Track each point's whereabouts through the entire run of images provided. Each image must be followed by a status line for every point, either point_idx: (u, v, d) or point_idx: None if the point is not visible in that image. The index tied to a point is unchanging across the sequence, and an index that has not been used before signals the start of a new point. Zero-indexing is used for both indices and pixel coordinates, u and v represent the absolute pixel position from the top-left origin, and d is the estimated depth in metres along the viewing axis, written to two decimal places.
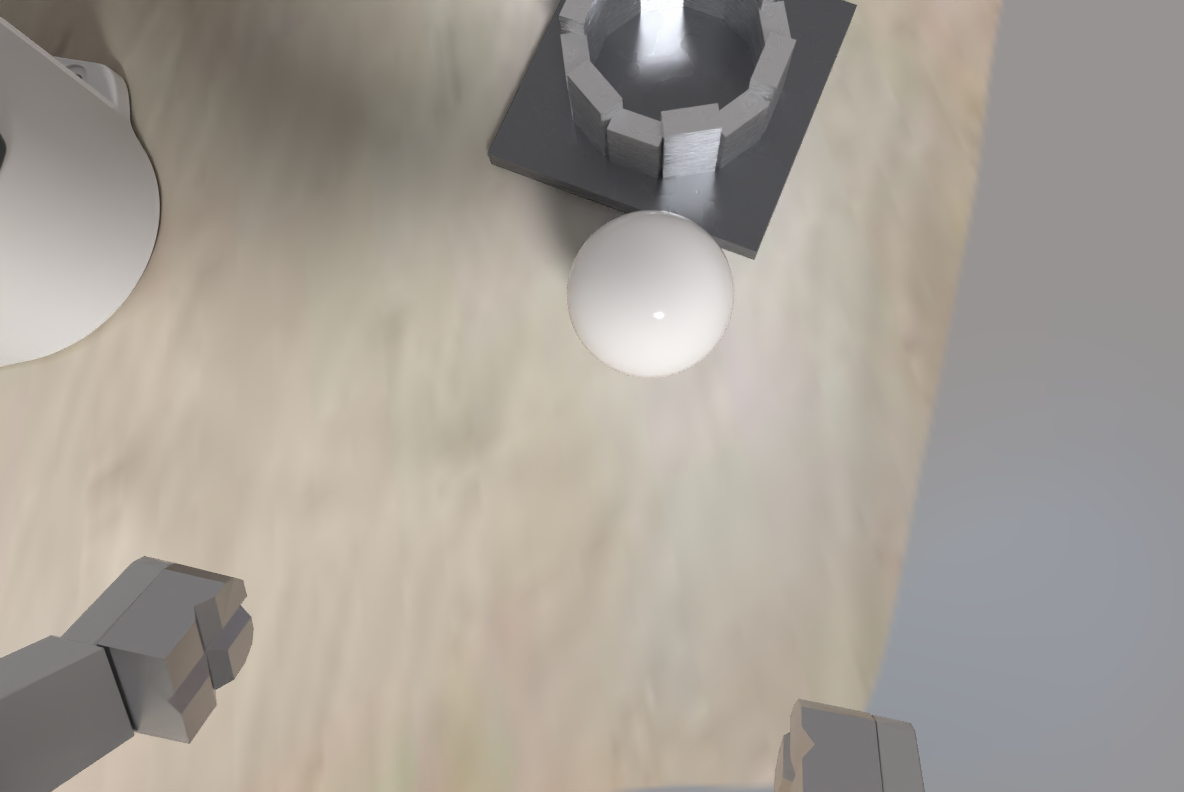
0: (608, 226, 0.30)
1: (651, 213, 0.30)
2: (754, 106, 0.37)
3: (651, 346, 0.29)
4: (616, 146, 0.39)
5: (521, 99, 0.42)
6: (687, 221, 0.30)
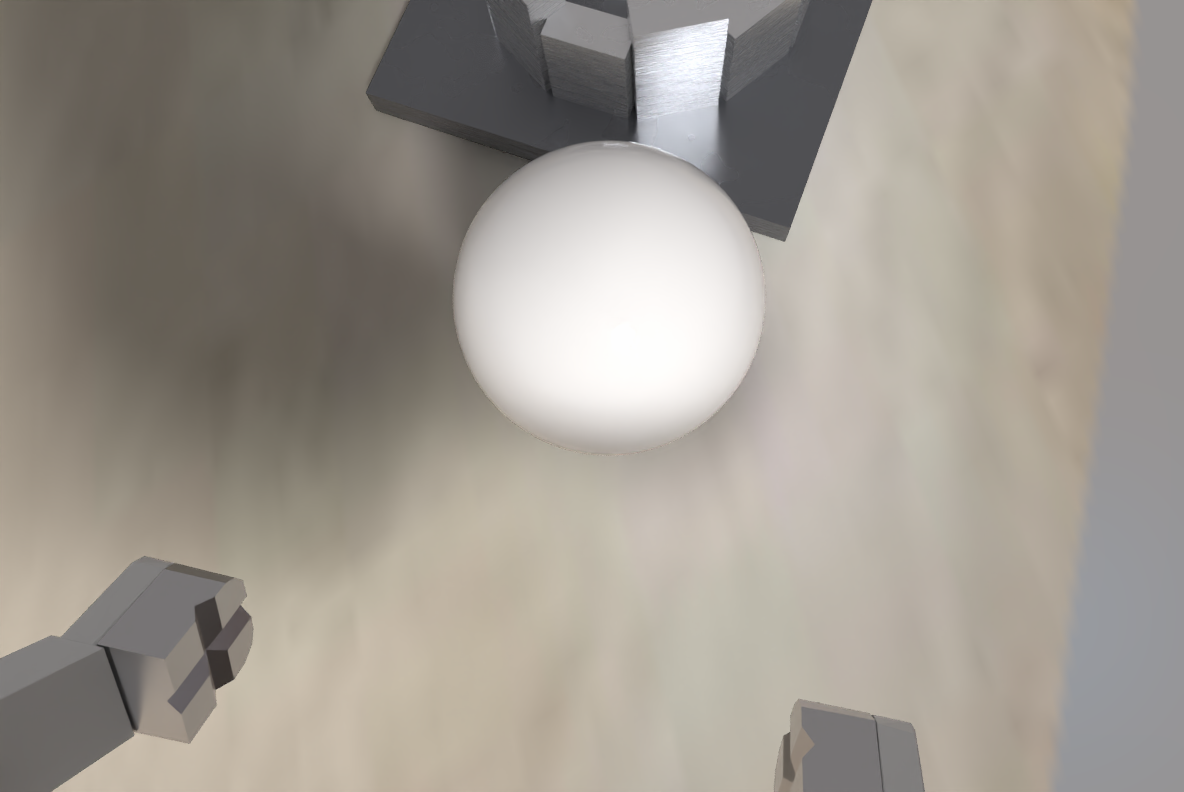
0: (520, 171, 0.16)
1: (602, 143, 0.16)
2: None
3: (607, 402, 0.15)
4: (559, 67, 0.24)
5: (417, 9, 0.27)
6: (672, 156, 0.16)
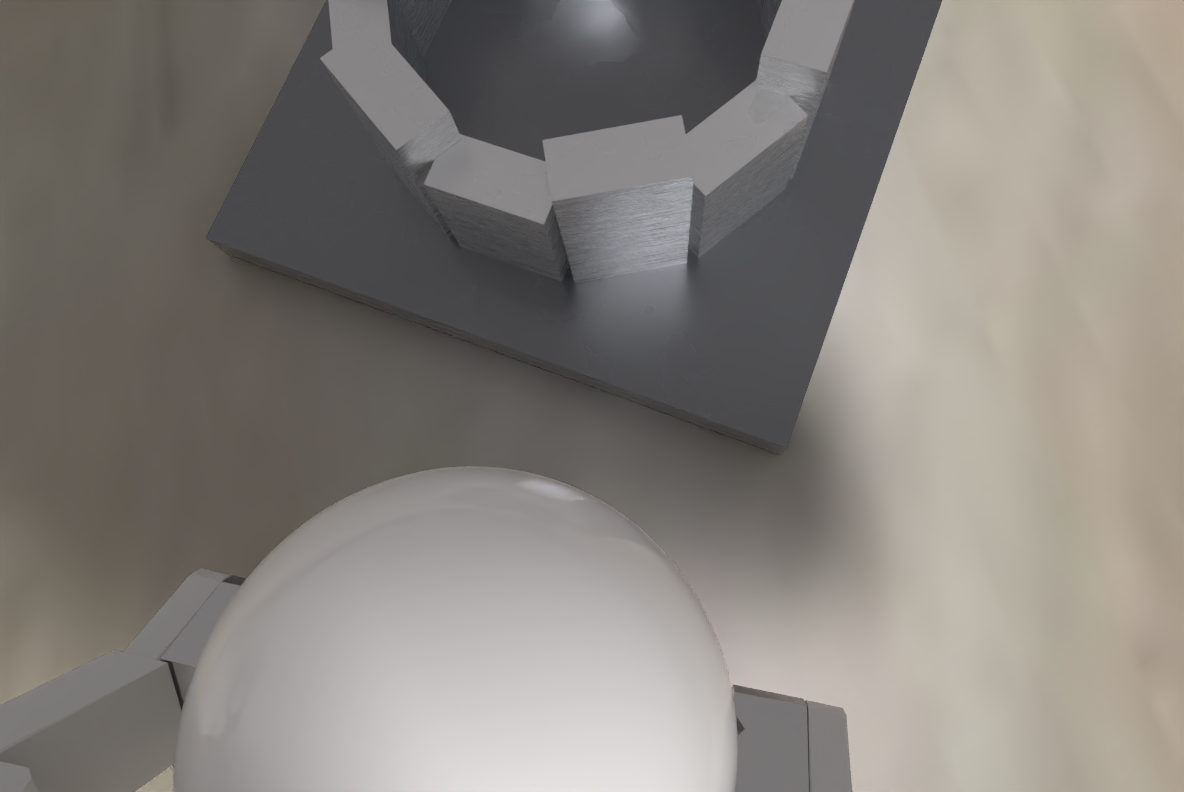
0: (283, 563, 0.09)
1: (433, 515, 0.09)
2: (772, 120, 0.16)
3: None
4: (459, 220, 0.17)
5: (281, 120, 0.20)
6: (563, 539, 0.09)
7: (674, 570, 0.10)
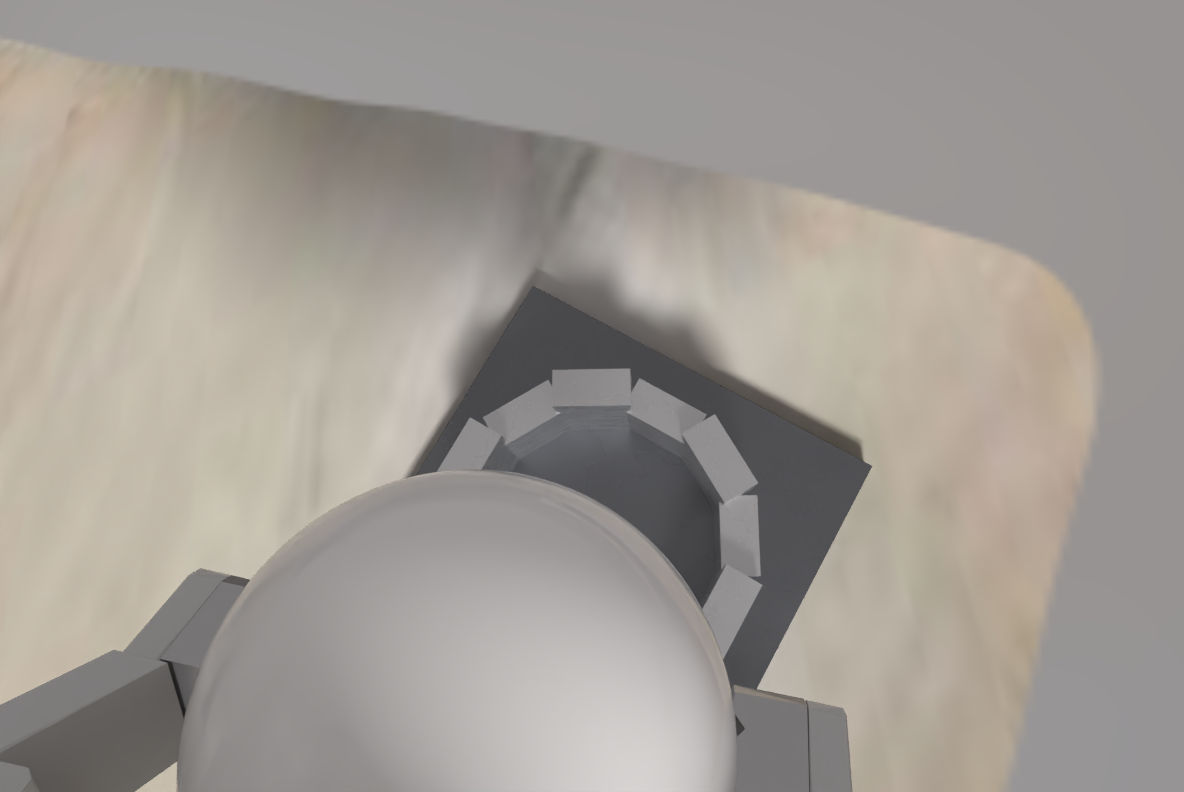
0: (285, 566, 0.09)
1: (432, 519, 0.09)
2: None
3: None
4: None
5: None
6: (561, 542, 0.09)
7: (673, 572, 0.10)
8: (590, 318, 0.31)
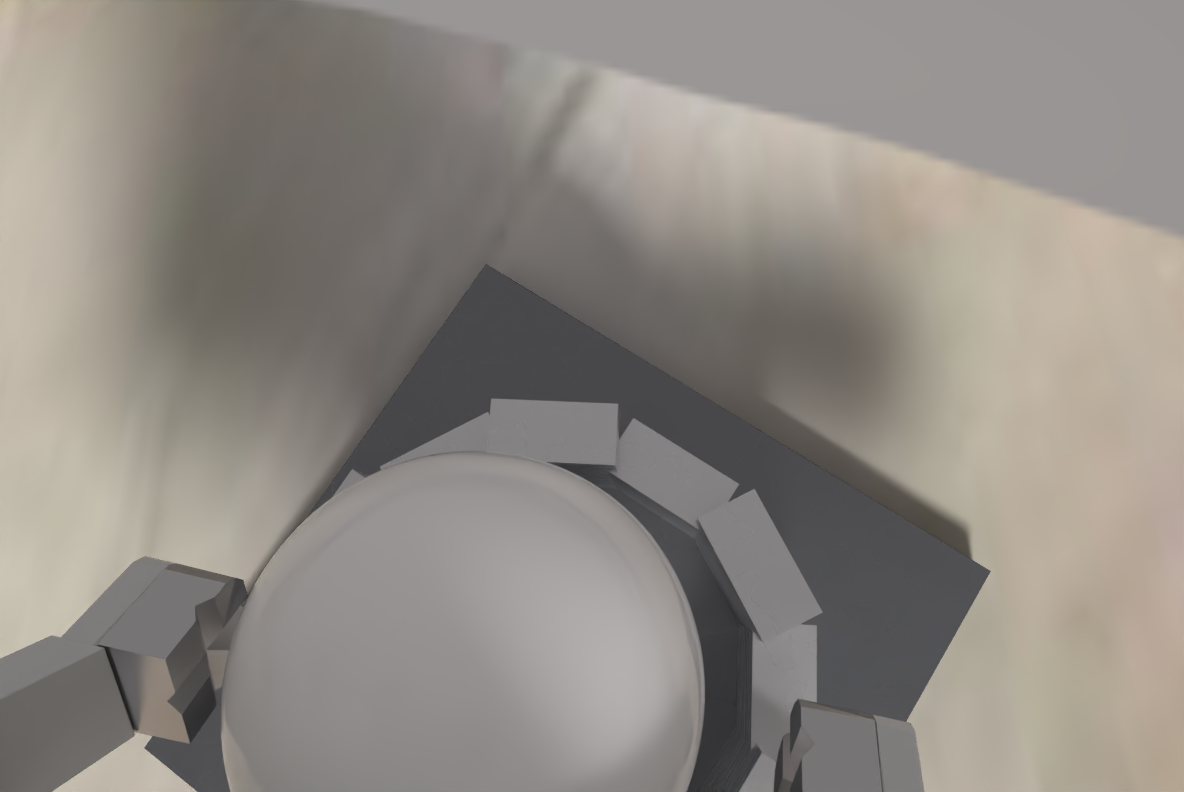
0: (314, 527, 0.10)
1: (440, 486, 0.10)
2: None
3: None
4: None
5: None
6: (549, 505, 0.10)
7: (648, 537, 0.11)
8: (568, 317, 0.21)
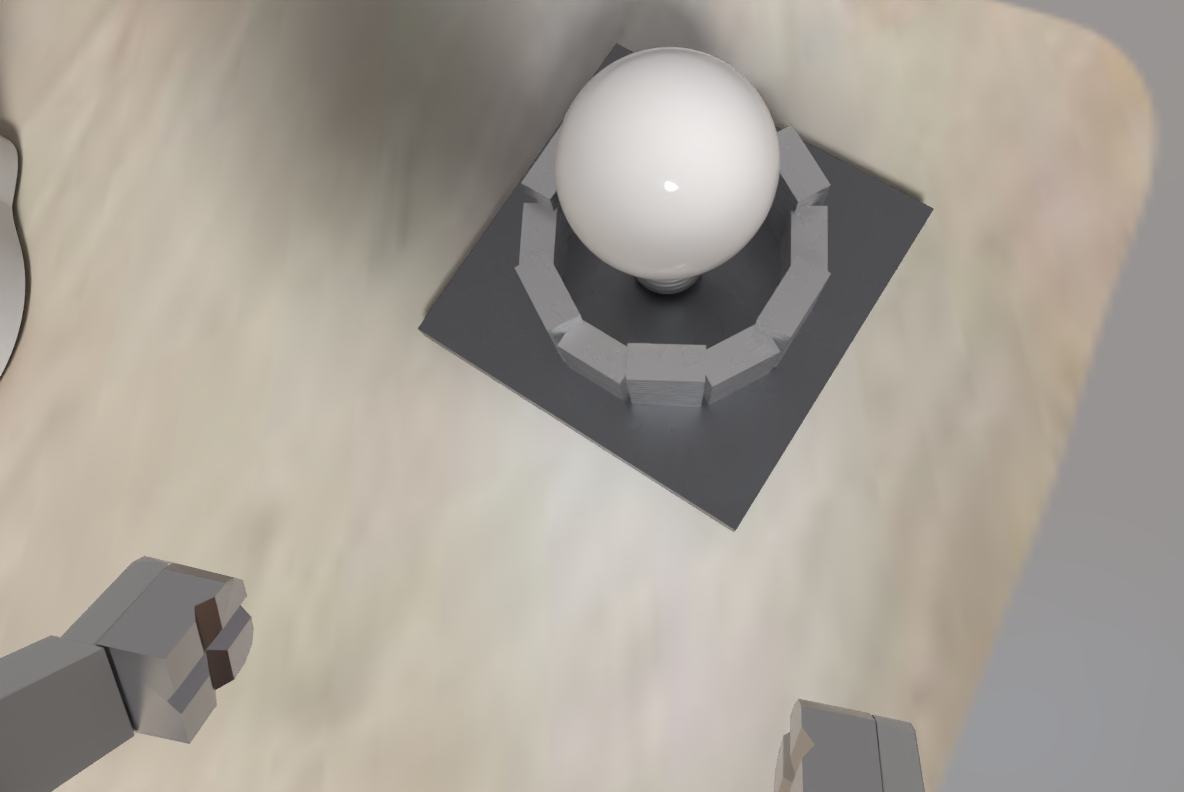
0: (605, 69, 0.22)
1: (663, 47, 0.22)
2: (759, 350, 0.27)
3: (670, 224, 0.21)
4: (572, 361, 0.29)
5: (474, 263, 0.32)
6: (713, 56, 0.22)
7: None
8: None
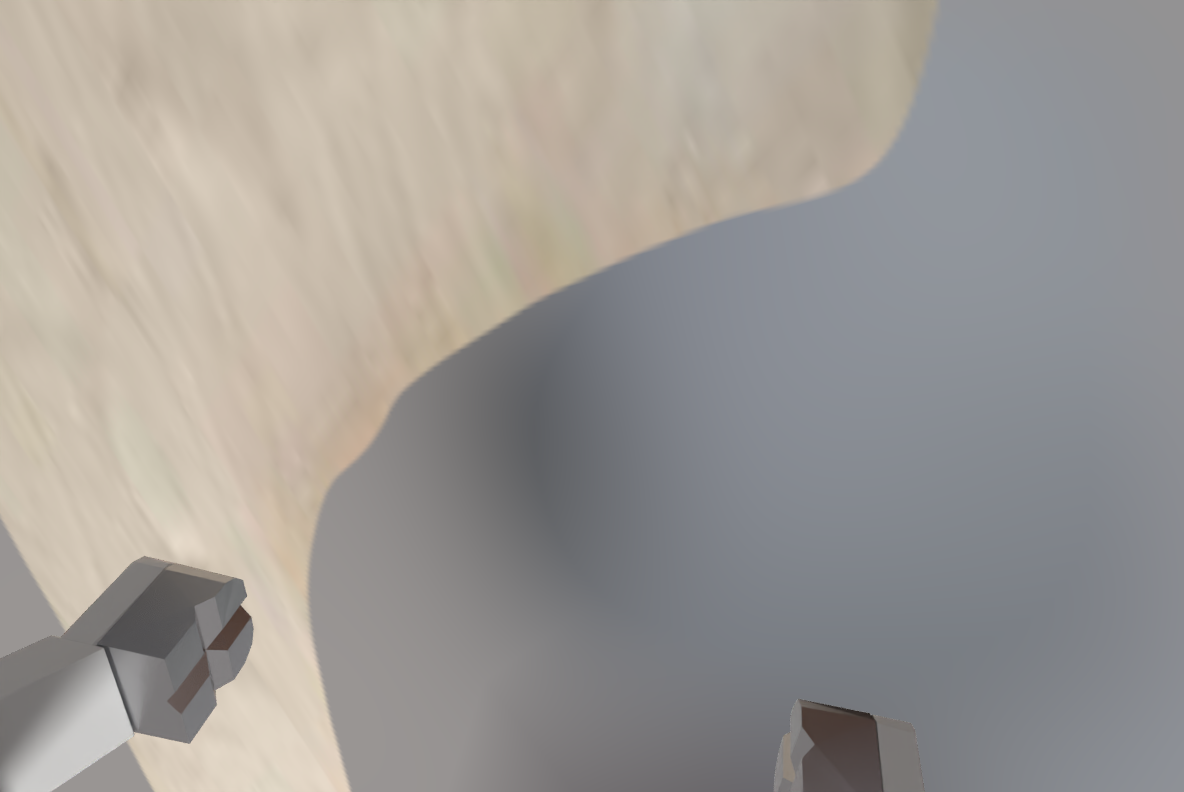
0: None
1: None
2: None
3: None
4: None
5: None
6: None
7: None
8: None
